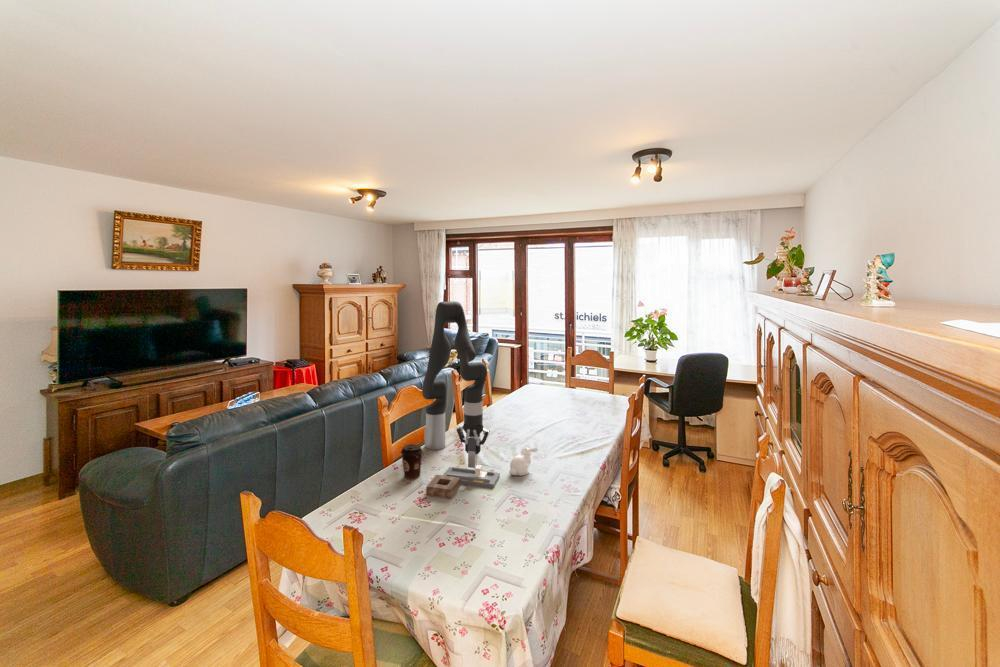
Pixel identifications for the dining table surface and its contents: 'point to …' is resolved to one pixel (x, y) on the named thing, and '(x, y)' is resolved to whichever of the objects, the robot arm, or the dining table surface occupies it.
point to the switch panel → (473, 477)
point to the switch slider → (480, 472)
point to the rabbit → (521, 462)
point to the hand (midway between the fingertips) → (472, 452)
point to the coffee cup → (411, 461)
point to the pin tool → (472, 452)
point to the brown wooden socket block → (443, 486)
